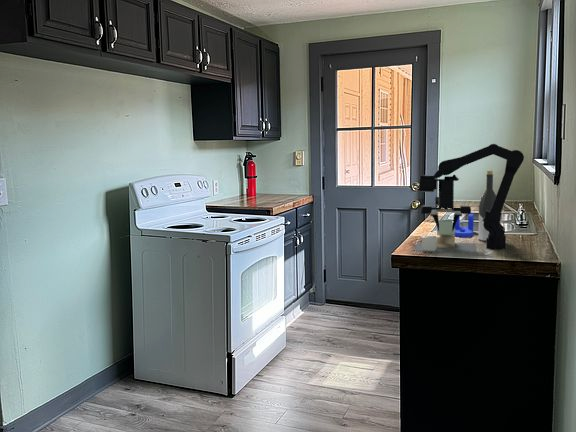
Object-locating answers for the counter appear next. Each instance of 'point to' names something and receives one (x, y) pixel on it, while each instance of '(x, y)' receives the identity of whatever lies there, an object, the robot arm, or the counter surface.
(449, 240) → the oak base block
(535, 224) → the counter surface
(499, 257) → the counter surface
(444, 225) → the sage cube
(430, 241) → the cream cube
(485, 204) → the wine bottle
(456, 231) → the bracket
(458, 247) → the mat
